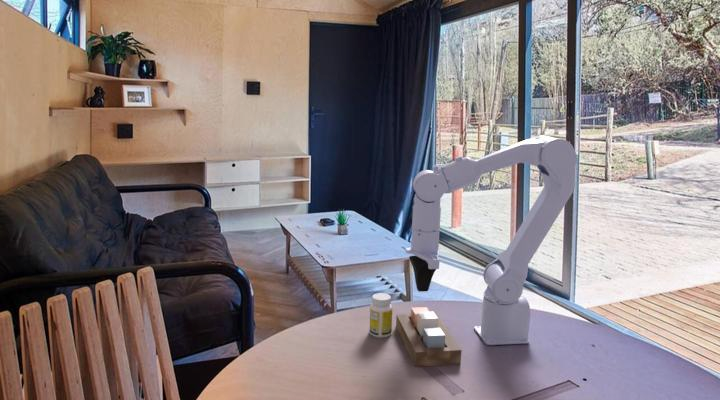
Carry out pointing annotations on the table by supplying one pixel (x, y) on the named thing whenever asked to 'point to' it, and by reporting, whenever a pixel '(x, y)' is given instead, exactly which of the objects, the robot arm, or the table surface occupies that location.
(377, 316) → the supplement bottle
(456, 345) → the key block
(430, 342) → the blue key
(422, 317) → the white key
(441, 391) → the table surface
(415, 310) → the red key
